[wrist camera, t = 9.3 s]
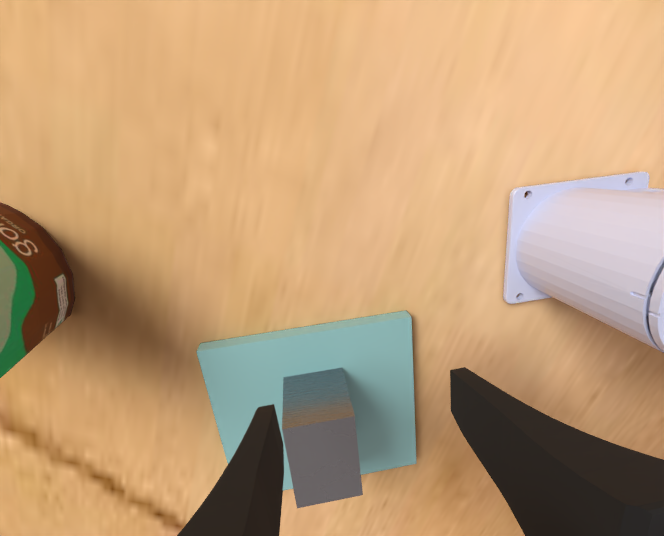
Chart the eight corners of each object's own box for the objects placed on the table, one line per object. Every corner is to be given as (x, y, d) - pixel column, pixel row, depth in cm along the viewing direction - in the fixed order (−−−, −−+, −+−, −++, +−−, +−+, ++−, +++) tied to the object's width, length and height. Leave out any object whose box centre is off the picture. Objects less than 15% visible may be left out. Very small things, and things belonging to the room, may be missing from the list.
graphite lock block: (342, 367, 22) (354, 416, 18) (349, 436, 24) (362, 494, 20) (283, 377, 22) (281, 429, 17) (295, 446, 23) (297, 508, 19)
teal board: (406, 310, 22) (411, 316, 21) (411, 452, 26) (416, 463, 26) (200, 343, 21) (196, 351, 20) (239, 487, 25) (237, 499, 24)
